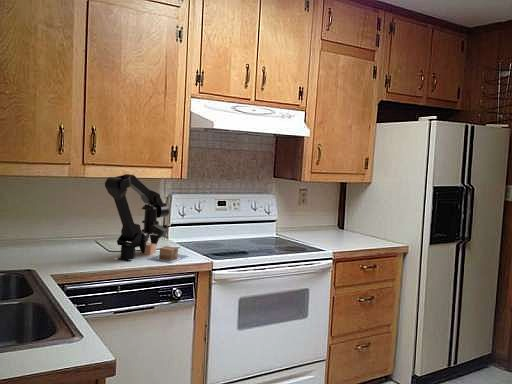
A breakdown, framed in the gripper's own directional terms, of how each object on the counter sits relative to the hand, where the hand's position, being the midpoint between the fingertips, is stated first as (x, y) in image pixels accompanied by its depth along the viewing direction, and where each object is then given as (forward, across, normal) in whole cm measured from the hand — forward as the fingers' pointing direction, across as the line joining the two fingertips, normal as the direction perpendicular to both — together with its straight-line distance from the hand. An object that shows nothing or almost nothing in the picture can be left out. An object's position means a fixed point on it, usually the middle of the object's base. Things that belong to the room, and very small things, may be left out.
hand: (148, 251), depth 231 cm
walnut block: (+1, -4, -13) cm, 14 cm away
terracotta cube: (+2, 0, 0) cm, 2 cm away
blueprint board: (+1, -2, -12) cm, 12 cm away
